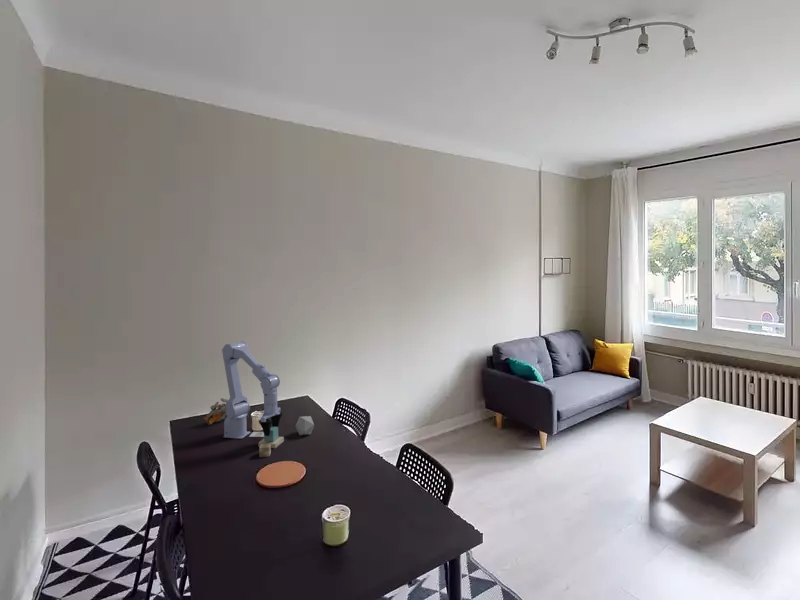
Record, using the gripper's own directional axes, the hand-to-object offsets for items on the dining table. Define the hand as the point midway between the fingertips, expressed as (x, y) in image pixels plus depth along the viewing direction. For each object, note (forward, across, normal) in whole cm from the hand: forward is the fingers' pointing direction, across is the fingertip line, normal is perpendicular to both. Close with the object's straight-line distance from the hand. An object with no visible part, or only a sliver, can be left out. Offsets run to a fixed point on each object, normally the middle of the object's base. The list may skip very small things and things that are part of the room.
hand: (271, 432), depth 189 cm
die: (+5, +14, -10) cm, 18 cm away
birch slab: (+6, 0, 0) cm, 6 cm away
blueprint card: (+5, +9, +11) cm, 15 cm away
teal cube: (+3, 0, 0) cm, 3 cm away
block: (+5, -11, -3) cm, 13 cm away
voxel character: (+6, +19, +37) cm, 42 cm away
